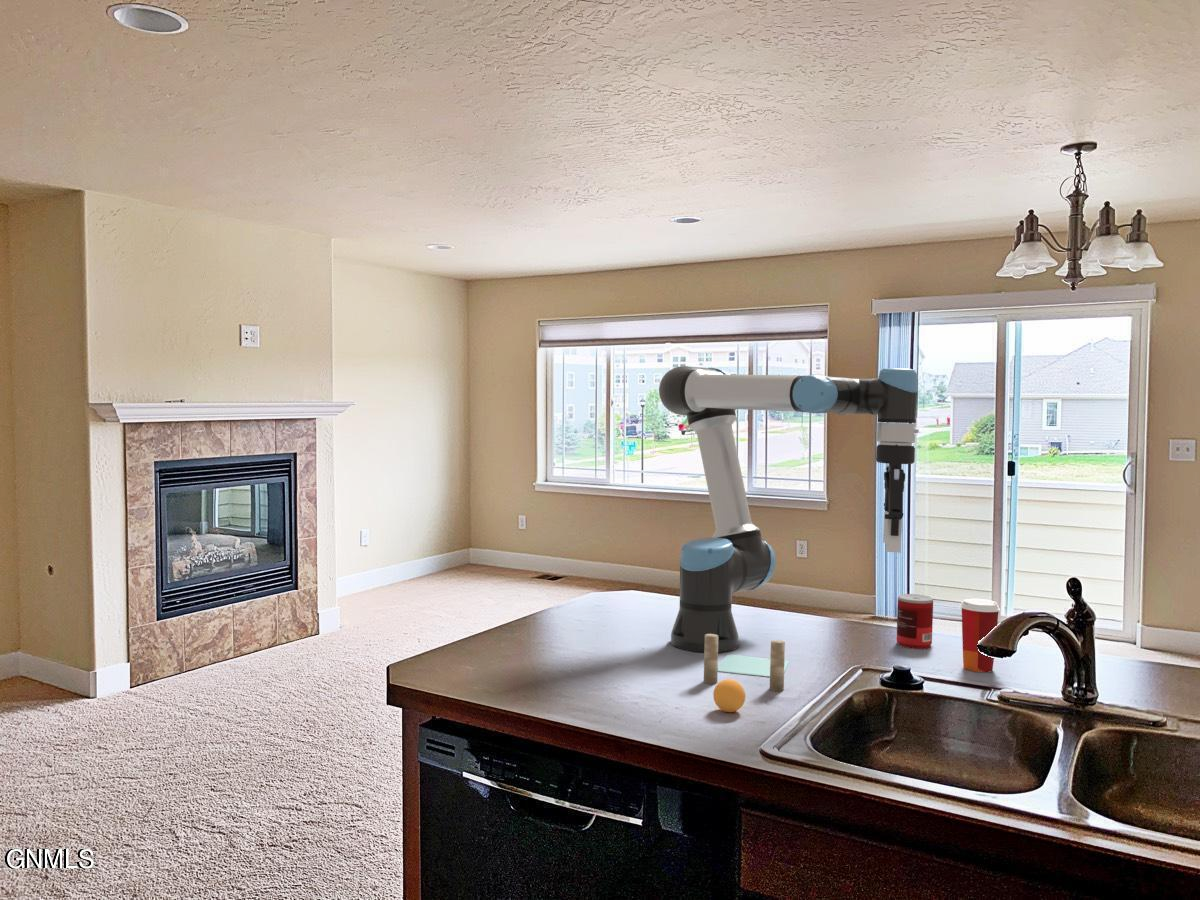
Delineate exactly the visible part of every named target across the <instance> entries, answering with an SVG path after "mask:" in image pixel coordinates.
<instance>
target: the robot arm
mask: <svg viewBox="0 0 1200 900" xmlns="http://www.w3.org/2000/svg"><path fill="white" fill-rule="evenodd" d="M658 394H659V395H658V396H659V399H660V401H661V403H662V405H663V406H664V408H666V409H667V411H669V412H671V413H673V414H675V415H680V416H686V419H687V422H688V428H689V429H691V430H692V431H694V432H695V433H696V436H697V441H698V446H699V452H700V456H701V460H702V467H703V471H704V475H705V476H704V477H705V481H706V487H707V490H708V495H709V500H710V506H711V510H712V516H713V521H714V524H715V526H714V527H715V532H714V533H713V535H712V536H711V537H705V538H704V537H701V538H695V539H692V540H689V541H687V542H685V543H684V544H683V545H682V547H681V551H680V558H679V567H680V568H679V569H680V570H679V608H678V609H679V610H678V612H677V615H676V617H675V620H674V621H675V622H674V624H673V626H672V630H671V634H670V644H671V645H672V646H674V647H676V648H678V649H681V650H685V651H691V652H700V653H704V648H705V635H706V634H716V635H718V653H722V652H728V651H729V652H730V651H733V650H735V649H737V648H738V647H739V644H740V643H739V640H740V638H739V637H740V636H739V633H738V630H737V626H736V623H735V619H734V615H733V613H732V602H733V594H735V593H739V592H740V593H741V592H744V591H745V592H746V591H750V590H756V589H757V588H759V587H762V586H764V585H766V584H767V583H768V582H769V581H770V579H771V578H772V576H773V574H774V572H775V570H776V555H775V552H774V549H773V547H772V546H771V545H770V544H769V543H767V541H766V540H764V539H763V538H762V534H761V529H760V528H759V527H758V526H756V525H755V524H754V523H753V522H752V517H751V513H750V509H749V503H748V498H747V494H746V493H747V492H746V488H745V483H744V479H743V475H742V469H741V464H740V460H739V455H738V451H737V444H736V441H735V435H734V430H733V424H734V423H735V420H736V419H737V414H736V410H749V411H750V410H751V411H752V410H753V411H770V412H771V411H772V412H794V413H795V412H796V413H797V412H798V413H809V414H837V415H843V416H844V415H871V416H872V415H873V416H874V415H875V416H876V415H877V422H876V439H875V440H876V441H877V442H878V443H879V444H877V445H876V446H875V447H876V449H875V451H876V452H875V453H876V455H875V461H876V462H877V463H878V464H887V466H886V467H885V470H886V471H883V480H884V483H883V484H884V490H885V492H884V503H883V506H884V507H883V509H884V512H883V536H882V538H883V539H882V543H885V545H886V549H885V552H888V553H901V551H902V531H903V530H902V529H903V528H902V527H903V517H904V513H903V512H904V508H903V507H904V505H903V504H904V491H905V482H906V473H905V471H904V469H902V465H913V464H914V463H915V458H916V447H915V446H914V445H913V444H914V443H915V442H916V434H918V433H919V432H920V430H919V428H916V425H917V404H918V394H919V390H918V372H917V371H916V370H915V369H912V368H903V367H902V368H901V367H899V368H898V367H895V368H892V367H890V368H889V367H888V368H882V369H880V371H879V374H878V377H876V378H852V377H851V378H850V377H839V376H838V377H837V376H829V375H823V374H808V375H798V374H797V375H796V374H795V375H791V374H790V375H788V374H786V375H785V374H783V375H782V374H730V372H728V371H726V370H722V369H720V368H715V367H708V368H707V367H700V366H699V367H697V366H688V365H681V366H675V367H673V368H671V369H670V370H668V371H667V372H666V373H665V374H664V375H663V376H662V378H661V380H660V382H659V388H658Z"/></svg>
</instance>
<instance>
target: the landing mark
mask: <svg viewBox="0 0 1200 900" xmlns="http://www.w3.org/2000/svg"><path fill="white" fill-rule="evenodd" d="M789 663H790V660H786V659H784V674H785V672H786V670H787V668H788V665H789ZM718 672H719V673H726V674H728V673H729V674H736V675H738V674H739V675H746V676H756V677H757V676H758V677H763V678H764V677H765V678H767V677H768V678H770V658H765V657H757V656H756V657H755V656H745V655H739V654H738V655H736V654H727V655H726V656H725V658H724V659H723V660H722V662H721V663H720V665H718ZM718 672H717V673H718Z"/></svg>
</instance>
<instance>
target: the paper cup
mask: <svg viewBox="0 0 1200 900" xmlns="http://www.w3.org/2000/svg"><path fill="white" fill-rule="evenodd" d="M960 603H961V604H960V605H959V606H958V607H959V608H961V636H962V637H961V638H962V663H963V669H965V670H967V671H970V672H976V673H991V672H993V671H994V670H993V669H994V661H995V657H994V658H991V657H988V656H985V655H983V654H981V653H980V652H979V651H978V648H977V644H978V641H979V640H981V639H982V638H983V637H985V636H986V635H987V634H988V633H989V632H990V631H991V630H992V629H993V628H994V627H995V626H997V627H998V623H999V622H998V619H999V612H1000V611H1001V609H1000V607H999V604H998V602H997V601H994V600H990V599H983V598H965V599H963V600H962V601H961V602H960ZM990 671H991V672H990Z"/></svg>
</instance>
